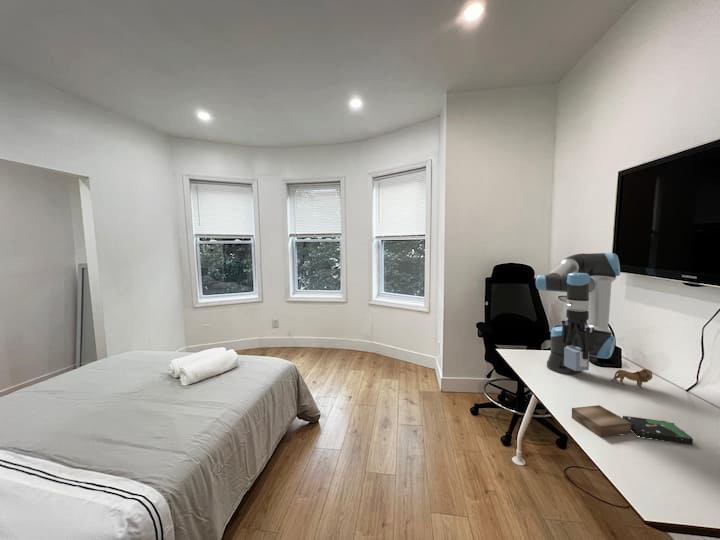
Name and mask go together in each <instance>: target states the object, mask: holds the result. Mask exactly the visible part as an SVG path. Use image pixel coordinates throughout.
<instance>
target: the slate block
mask: <svg viewBox="0 0 720 540" xmlns="http://www.w3.org/2000/svg"><path fill="white" fill-rule="evenodd" d="M580 350H581V348H579V347H564V366H566V367H568V368H570V369H572V370H575V371H580V372H583V371H589V369H590V367H589V366H590V356H589V352H588V359H587V367H580V366H579V359H580Z"/></svg>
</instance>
